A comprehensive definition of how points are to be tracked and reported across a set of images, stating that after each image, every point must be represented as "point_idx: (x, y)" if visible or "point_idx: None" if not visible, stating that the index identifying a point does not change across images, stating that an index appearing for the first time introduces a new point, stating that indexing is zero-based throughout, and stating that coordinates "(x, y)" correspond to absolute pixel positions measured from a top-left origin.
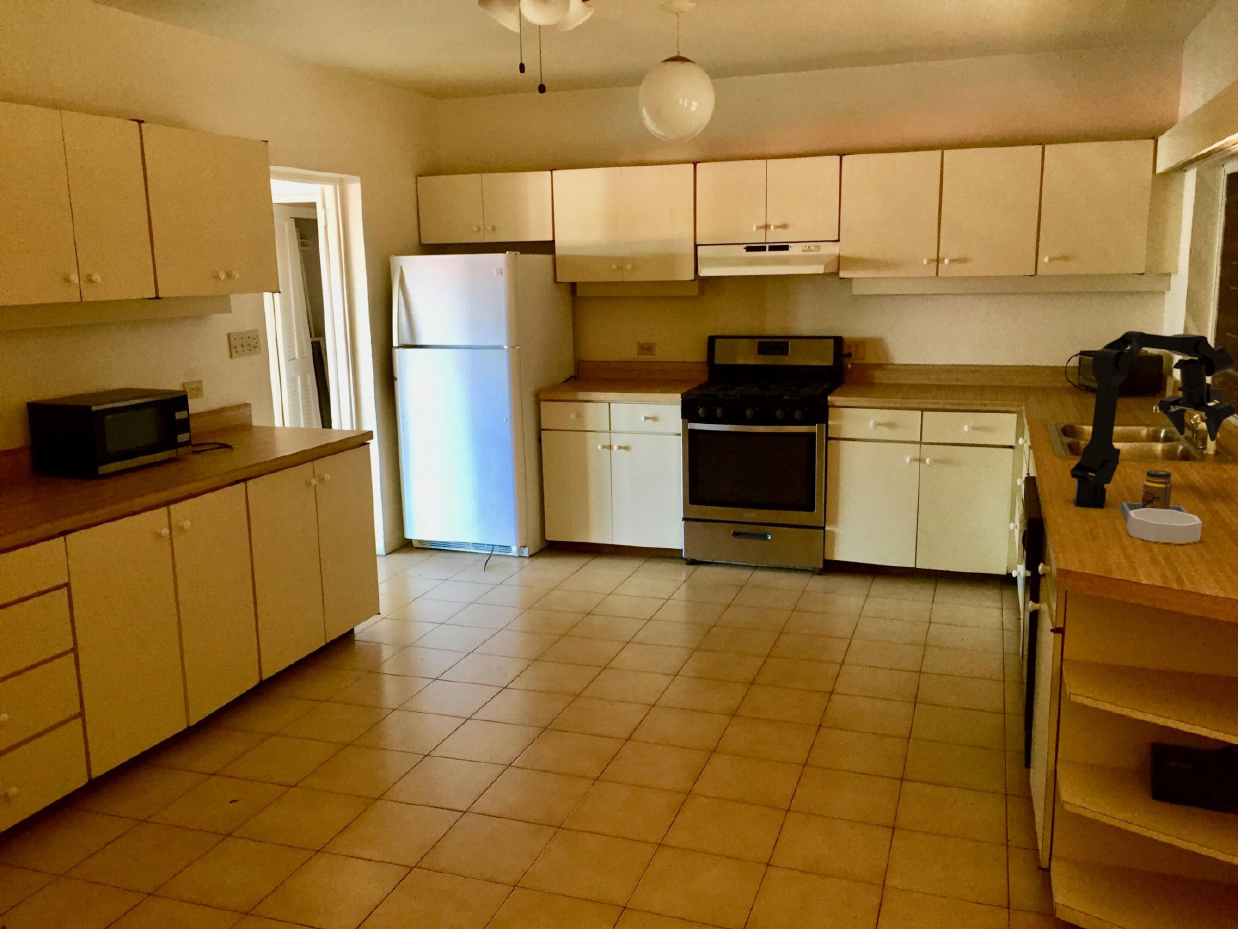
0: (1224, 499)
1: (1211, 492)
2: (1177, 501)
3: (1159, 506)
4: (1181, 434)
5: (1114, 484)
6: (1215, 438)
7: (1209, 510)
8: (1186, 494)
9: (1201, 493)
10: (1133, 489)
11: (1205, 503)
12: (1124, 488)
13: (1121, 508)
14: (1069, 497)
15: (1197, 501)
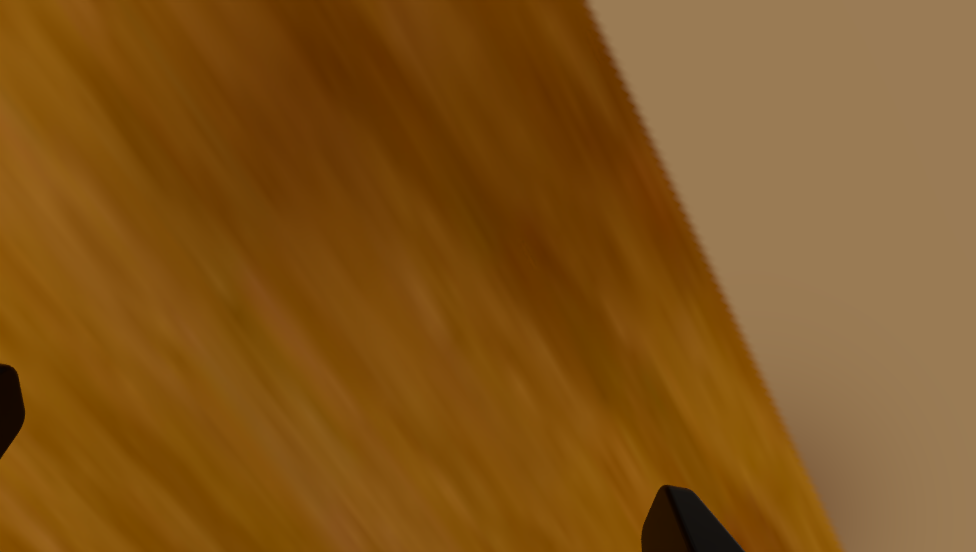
0: (651, 197)
1: (490, 66)
2: (505, 492)
3: None
4: (11, 440)
5: None
6: (709, 517)
7: None
8: (429, 279)
9: (468, 162)
10: (169, 438)
11: (630, 402)
12: (124, 460)
13: None
14: None
15: (574, 396)
